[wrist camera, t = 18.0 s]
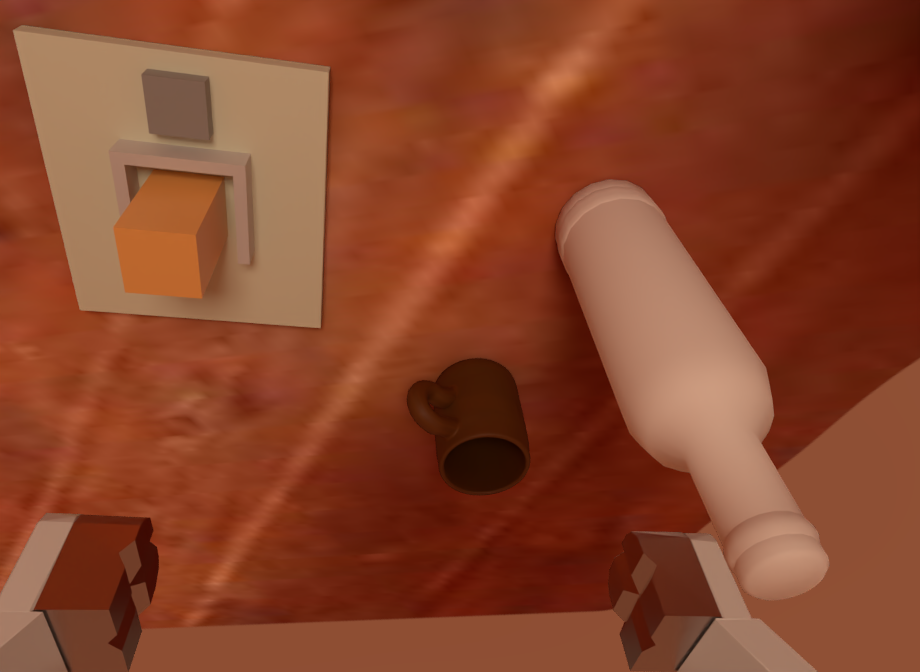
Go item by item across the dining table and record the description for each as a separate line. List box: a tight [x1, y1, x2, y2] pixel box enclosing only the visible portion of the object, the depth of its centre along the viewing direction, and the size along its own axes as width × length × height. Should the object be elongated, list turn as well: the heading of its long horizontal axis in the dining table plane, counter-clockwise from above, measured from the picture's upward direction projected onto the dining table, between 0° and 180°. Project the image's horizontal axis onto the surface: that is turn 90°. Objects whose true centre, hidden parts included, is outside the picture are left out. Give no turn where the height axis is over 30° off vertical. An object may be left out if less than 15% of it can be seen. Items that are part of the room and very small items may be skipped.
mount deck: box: [13, 25, 330, 328], centre depth 45 cm, size 20×18×3 cm
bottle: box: [555, 179, 829, 600], centre depth 39 cm, size 8×8×30 cm
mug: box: [407, 359, 530, 495], centre depth 55 cm, size 12×8×9 cm, turn 44°
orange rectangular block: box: [113, 169, 228, 299], centre depth 42 cm, size 4×4×8 cm
